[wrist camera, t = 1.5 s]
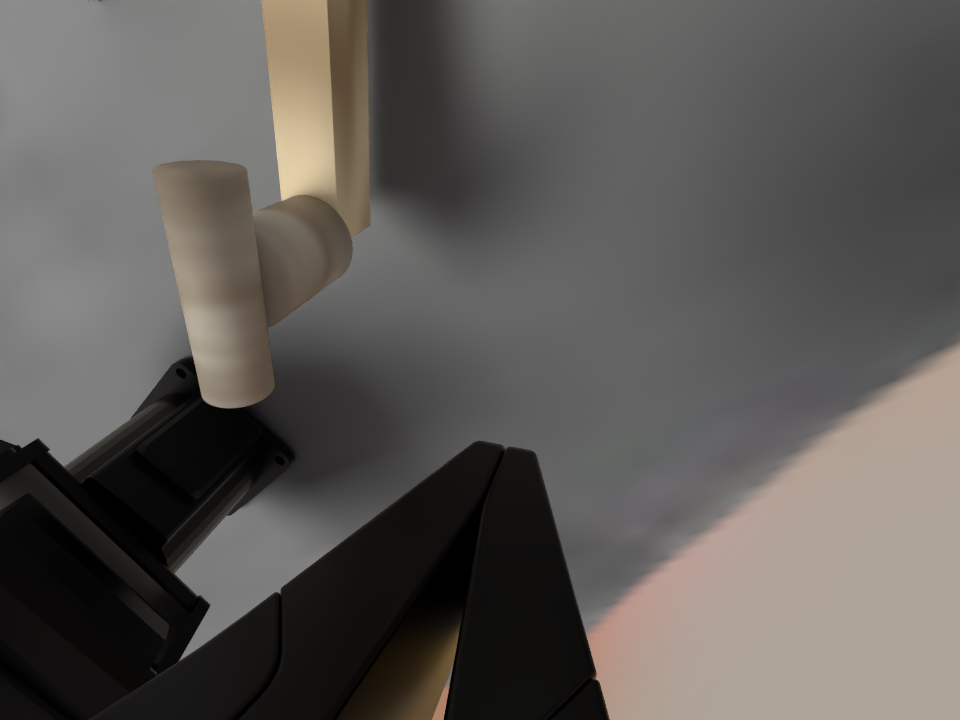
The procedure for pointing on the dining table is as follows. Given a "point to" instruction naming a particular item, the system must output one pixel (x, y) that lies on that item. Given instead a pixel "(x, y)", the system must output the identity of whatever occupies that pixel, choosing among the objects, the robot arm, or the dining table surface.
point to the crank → (284, 225)
